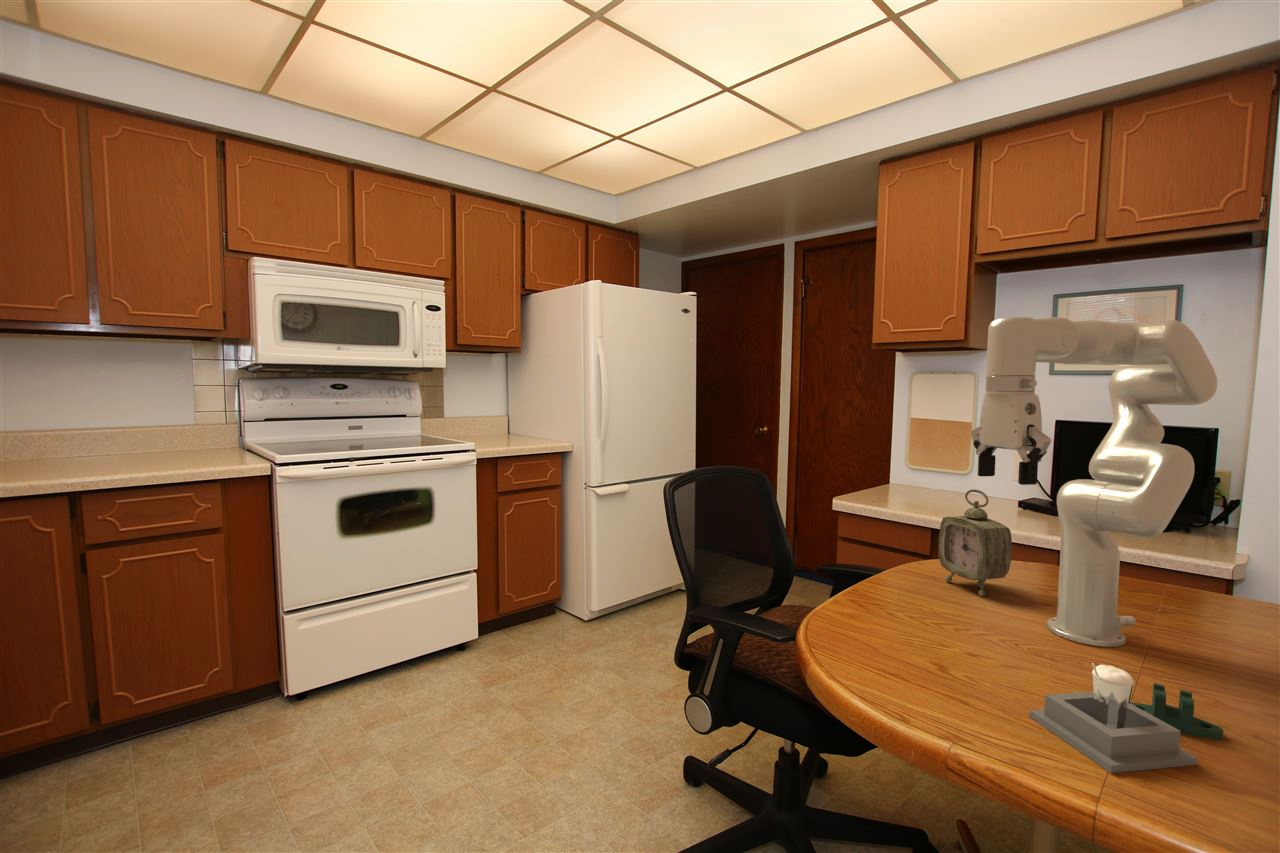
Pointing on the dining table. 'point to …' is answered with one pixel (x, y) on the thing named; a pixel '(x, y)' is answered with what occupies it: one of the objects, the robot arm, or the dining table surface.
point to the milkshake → (1111, 695)
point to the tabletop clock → (975, 545)
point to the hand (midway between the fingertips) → (1005, 480)
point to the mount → (1180, 714)
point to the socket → (1113, 735)
